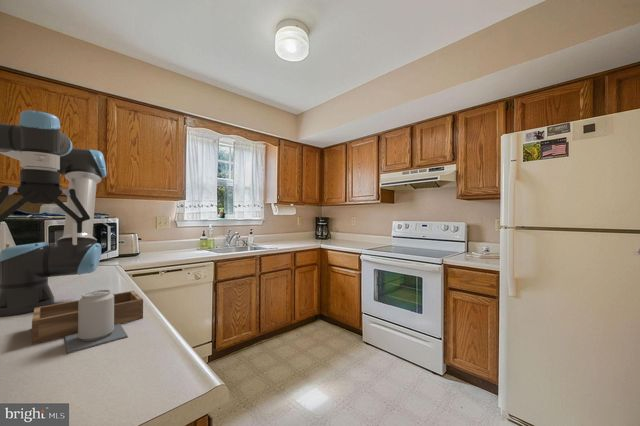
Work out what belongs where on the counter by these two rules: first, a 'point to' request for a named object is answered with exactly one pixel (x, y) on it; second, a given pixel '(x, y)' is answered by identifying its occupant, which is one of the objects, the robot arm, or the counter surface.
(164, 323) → the counter surface
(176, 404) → the counter surface
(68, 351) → the mat
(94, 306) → the can
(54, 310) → the box frame
